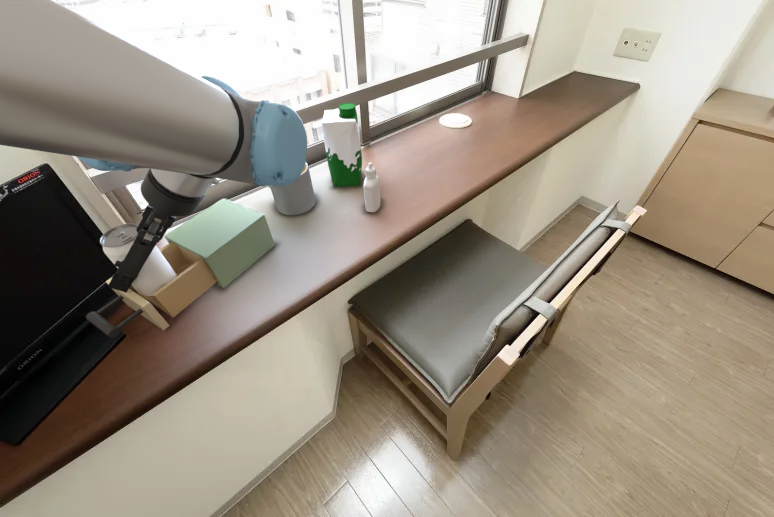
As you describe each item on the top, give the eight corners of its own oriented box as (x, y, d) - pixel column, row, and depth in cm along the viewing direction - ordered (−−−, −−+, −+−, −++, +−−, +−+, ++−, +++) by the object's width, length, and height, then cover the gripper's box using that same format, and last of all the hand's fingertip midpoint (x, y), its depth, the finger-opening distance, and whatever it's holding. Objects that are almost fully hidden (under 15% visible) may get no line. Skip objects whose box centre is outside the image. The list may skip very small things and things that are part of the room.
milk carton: (363, 188, 91) (356, 113, 77) (330, 189, 91) (316, 114, 77) (364, 171, 97) (357, 98, 83) (332, 172, 97) (320, 100, 83)
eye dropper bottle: (359, 207, 85) (354, 164, 76) (375, 198, 88) (372, 155, 79) (371, 215, 83) (367, 171, 74) (387, 205, 85) (385, 161, 77)
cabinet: (223, 288, 67) (205, 258, 61) (183, 266, 72) (163, 236, 66) (275, 244, 76) (264, 214, 70) (237, 227, 81) (223, 197, 75)
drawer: (132, 356, 56) (106, 334, 52) (96, 327, 61) (69, 304, 56) (224, 280, 68) (211, 256, 63) (188, 260, 72) (173, 236, 67)
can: (163, 266, 65) (127, 217, 57) (185, 278, 63) (151, 229, 54) (131, 289, 61) (87, 240, 53) (153, 303, 59) (110, 253, 50)
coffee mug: (323, 201, 88) (316, 166, 80) (293, 220, 82) (283, 184, 75) (291, 183, 94) (281, 150, 87) (261, 200, 89) (248, 166, 82)
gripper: (190, 235, 44) (129, 325, 54) (218, 162, 58) (166, 244, 68) (123, 207, 40) (71, 310, 50) (171, 135, 54) (122, 227, 64)
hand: (126, 272), depth 59 cm, fingers closed on can, 6 cm apart
